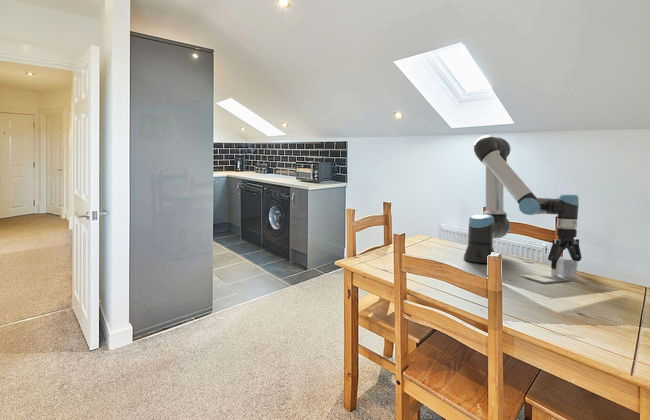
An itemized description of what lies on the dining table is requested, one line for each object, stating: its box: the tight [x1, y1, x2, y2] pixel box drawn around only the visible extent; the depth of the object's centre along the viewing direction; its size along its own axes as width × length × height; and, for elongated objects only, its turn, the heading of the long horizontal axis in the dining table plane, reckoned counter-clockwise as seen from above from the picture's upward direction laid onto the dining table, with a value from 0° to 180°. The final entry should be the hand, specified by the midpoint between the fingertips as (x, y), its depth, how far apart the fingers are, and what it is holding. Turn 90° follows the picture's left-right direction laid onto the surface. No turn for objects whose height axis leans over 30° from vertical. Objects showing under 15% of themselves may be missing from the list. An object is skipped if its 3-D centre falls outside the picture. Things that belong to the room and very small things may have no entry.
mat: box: [519, 274, 573, 285], centre depth 154 cm, size 14×16×1 cm
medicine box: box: [557, 256, 575, 279], centre depth 157 cm, size 8×4×9 cm, turn 168°
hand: (563, 275), depth 157 cm, fingers open, 11 cm apart
